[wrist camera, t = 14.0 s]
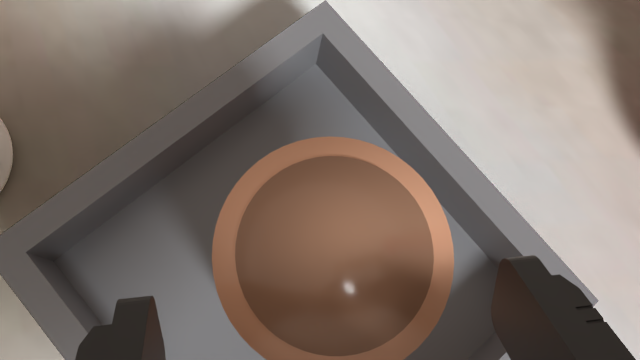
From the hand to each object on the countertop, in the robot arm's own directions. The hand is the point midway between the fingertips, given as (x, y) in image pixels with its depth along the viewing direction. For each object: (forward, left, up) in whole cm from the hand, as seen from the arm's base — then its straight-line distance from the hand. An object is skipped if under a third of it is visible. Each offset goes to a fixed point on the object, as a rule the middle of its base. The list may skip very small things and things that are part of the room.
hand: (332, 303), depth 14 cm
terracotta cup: (-1, -1, -9) cm, 9 cm away
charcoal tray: (-1, -1, -10) cm, 10 cm away
